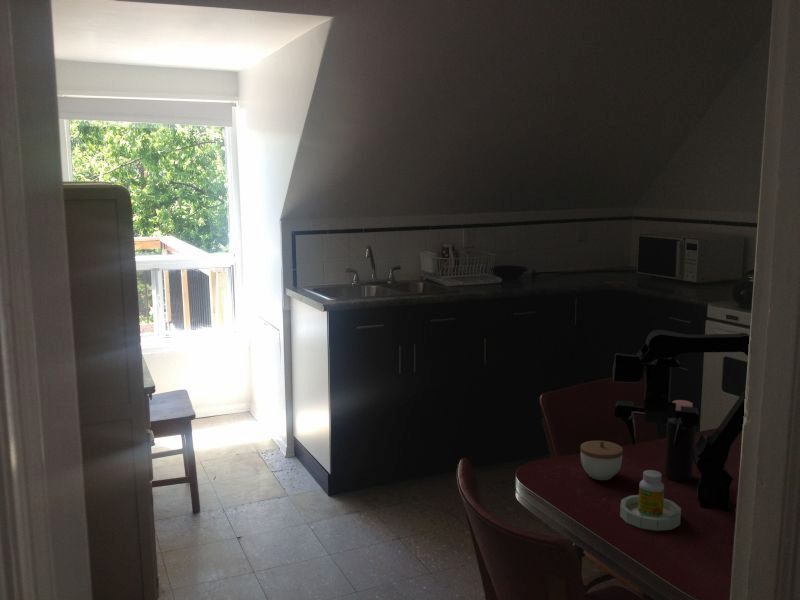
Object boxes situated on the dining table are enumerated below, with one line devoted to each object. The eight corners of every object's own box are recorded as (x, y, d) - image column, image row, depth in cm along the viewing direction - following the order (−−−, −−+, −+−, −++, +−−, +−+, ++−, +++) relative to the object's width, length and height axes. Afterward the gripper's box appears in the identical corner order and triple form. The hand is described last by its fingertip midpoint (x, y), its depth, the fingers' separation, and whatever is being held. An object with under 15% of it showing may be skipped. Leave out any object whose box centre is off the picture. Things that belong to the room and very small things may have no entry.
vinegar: (664, 480, 190) (668, 405, 187) (664, 470, 197) (668, 397, 194) (692, 483, 188) (697, 407, 185) (691, 473, 195) (696, 400, 191)
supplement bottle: (636, 516, 168) (638, 475, 167) (639, 506, 173) (641, 467, 171) (661, 520, 166) (664, 479, 164) (663, 510, 171) (665, 470, 169)
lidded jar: (623, 485, 187) (625, 450, 186) (580, 482, 189) (581, 447, 188) (620, 469, 198) (621, 435, 196) (578, 466, 200) (580, 433, 198)
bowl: (680, 509, 173) (680, 499, 173) (680, 534, 161) (680, 523, 161) (622, 501, 178) (622, 491, 177) (618, 524, 166) (618, 514, 165)
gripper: (613, 389, 171) (611, 453, 173) (701, 397, 164) (696, 463, 167) (617, 377, 181) (615, 438, 184) (699, 384, 175) (695, 447, 177)
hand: (654, 446), depth 178 cm, fingers open, 9 cm apart
